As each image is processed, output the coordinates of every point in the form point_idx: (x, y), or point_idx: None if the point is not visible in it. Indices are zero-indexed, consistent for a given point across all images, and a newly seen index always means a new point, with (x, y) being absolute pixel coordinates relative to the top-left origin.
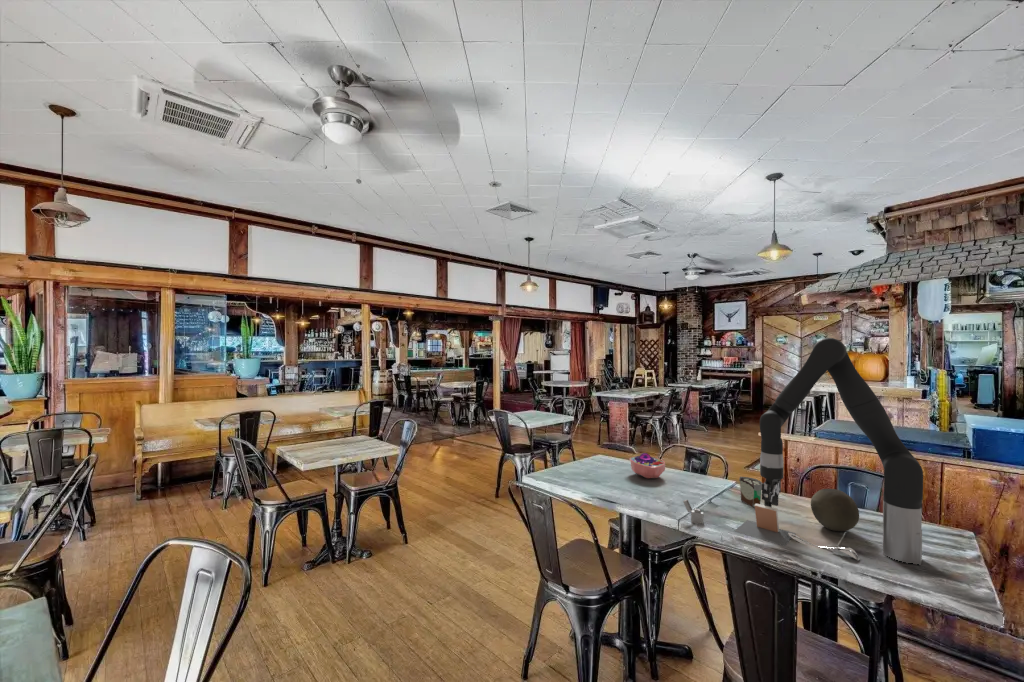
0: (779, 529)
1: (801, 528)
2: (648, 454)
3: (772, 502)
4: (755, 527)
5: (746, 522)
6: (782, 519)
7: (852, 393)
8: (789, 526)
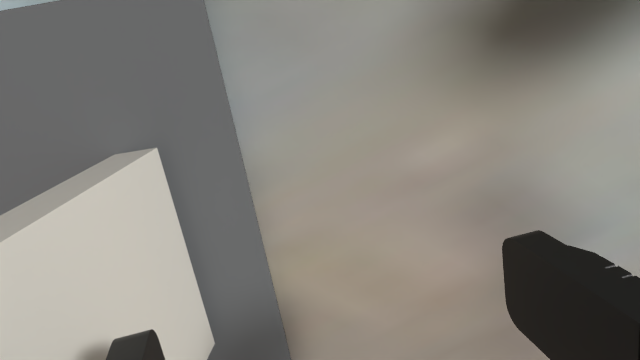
0: (263, 311)
1: (484, 355)
2: None
3: (524, 265)
4: (65, 163)
5: (106, 16)
6: (567, 169)
7: None
8: (447, 289)
